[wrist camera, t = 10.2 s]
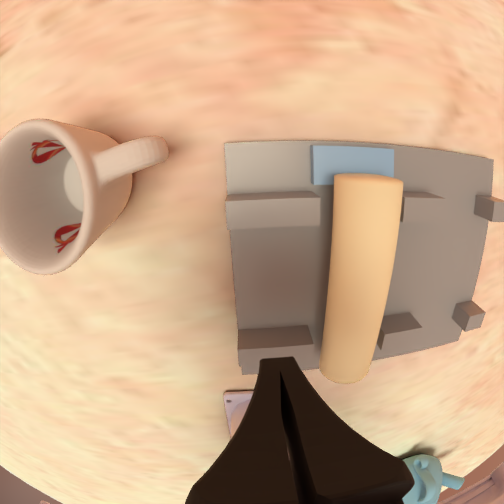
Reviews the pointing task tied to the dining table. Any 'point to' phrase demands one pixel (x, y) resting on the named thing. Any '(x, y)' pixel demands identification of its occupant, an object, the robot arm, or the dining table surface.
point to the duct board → (320, 238)
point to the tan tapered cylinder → (359, 271)
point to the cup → (64, 189)
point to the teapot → (428, 479)
